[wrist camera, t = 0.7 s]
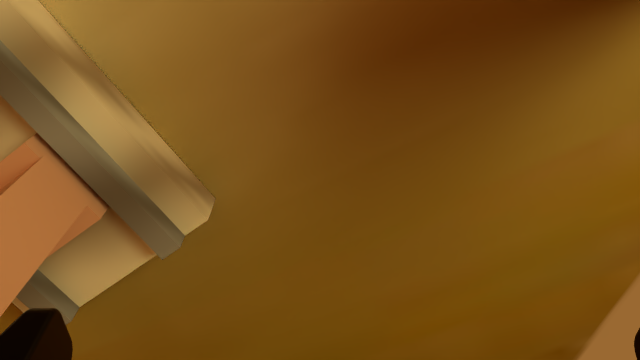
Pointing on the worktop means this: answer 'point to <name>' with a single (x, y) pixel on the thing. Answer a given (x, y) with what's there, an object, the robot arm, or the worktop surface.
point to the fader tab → (39, 211)
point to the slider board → (90, 160)
